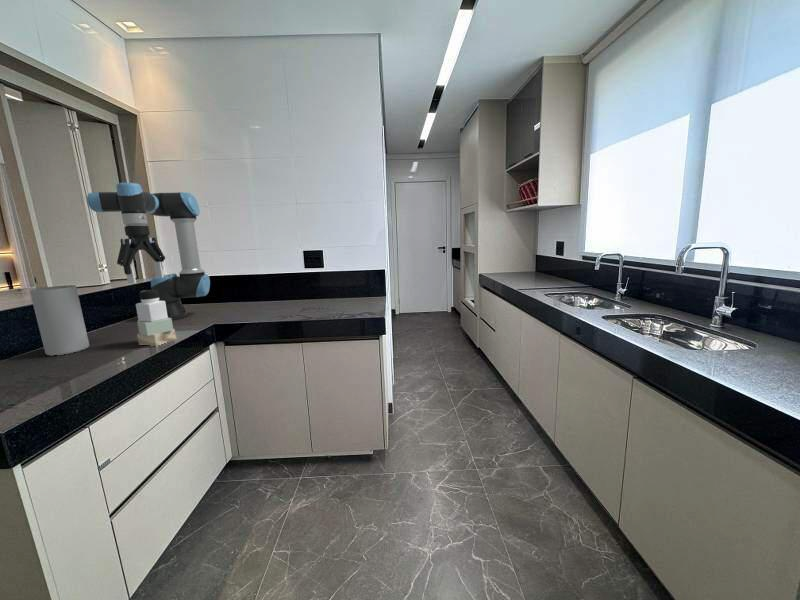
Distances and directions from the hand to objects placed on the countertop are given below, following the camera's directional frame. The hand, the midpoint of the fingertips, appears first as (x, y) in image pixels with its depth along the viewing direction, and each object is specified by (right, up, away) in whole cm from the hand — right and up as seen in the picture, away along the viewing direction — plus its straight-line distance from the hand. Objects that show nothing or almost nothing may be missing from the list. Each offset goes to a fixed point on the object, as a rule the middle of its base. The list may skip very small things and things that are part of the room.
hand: (146, 280), depth 136 cm
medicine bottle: (+1, -16, +3) cm, 16 cm away
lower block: (+1, -26, +5) cm, 26 cm away
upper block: (+1, -21, +4) cm, 21 cm away
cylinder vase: (-30, -28, -1) cm, 41 cm away
